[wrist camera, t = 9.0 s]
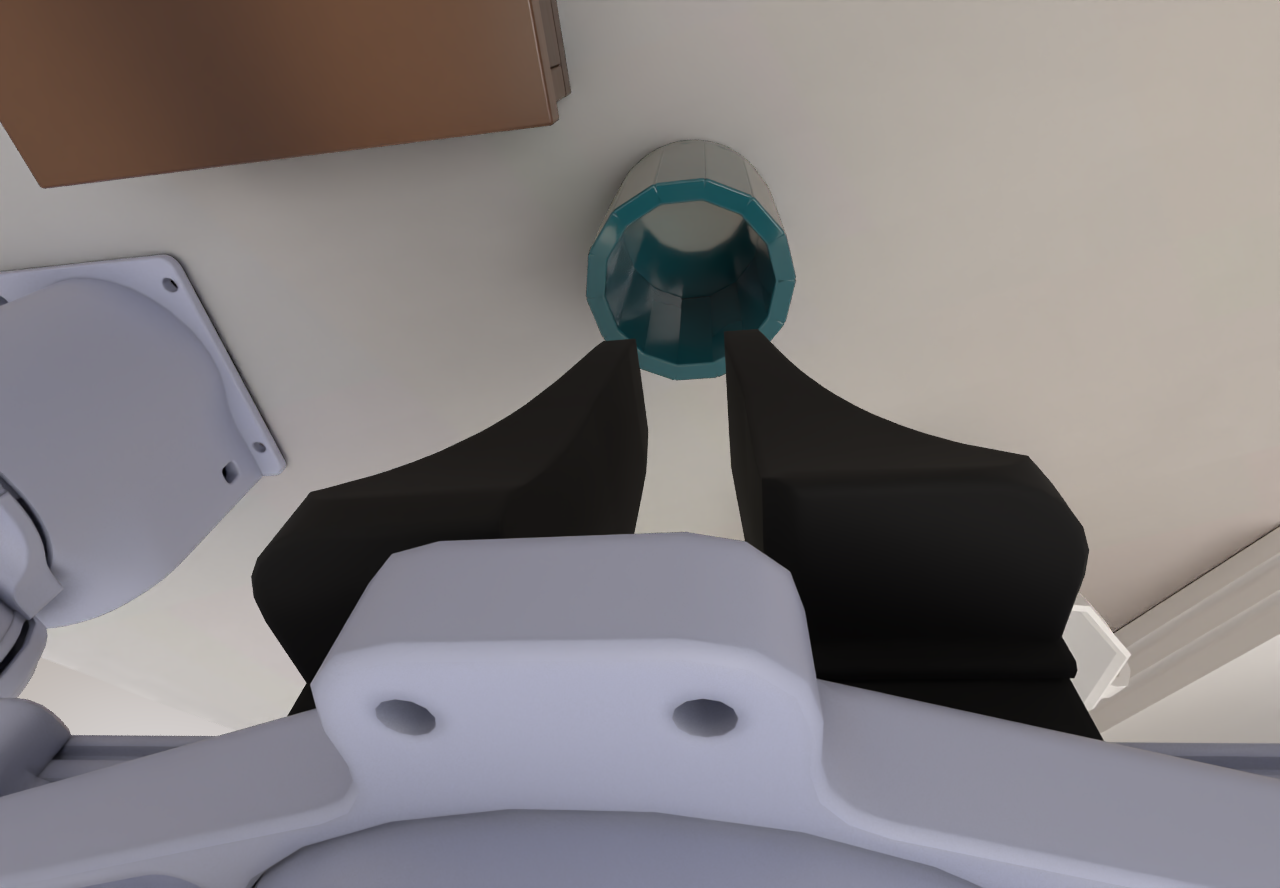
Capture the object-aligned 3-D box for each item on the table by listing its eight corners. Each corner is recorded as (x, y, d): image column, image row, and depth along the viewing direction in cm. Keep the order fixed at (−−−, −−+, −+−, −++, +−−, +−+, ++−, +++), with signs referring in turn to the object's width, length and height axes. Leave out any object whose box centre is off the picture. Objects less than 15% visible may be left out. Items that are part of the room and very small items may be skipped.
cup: (906, 410, 24) (986, 566, 17) (1120, 503, 25) (1270, 679, 19) (806, 535, 28) (839, 702, 21) (998, 609, 29) (1085, 787, 22)
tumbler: (775, 296, 22) (794, 373, 17) (621, 310, 22) (601, 386, 18) (774, 129, 19) (797, 167, 14) (598, 150, 20) (566, 193, 15)
